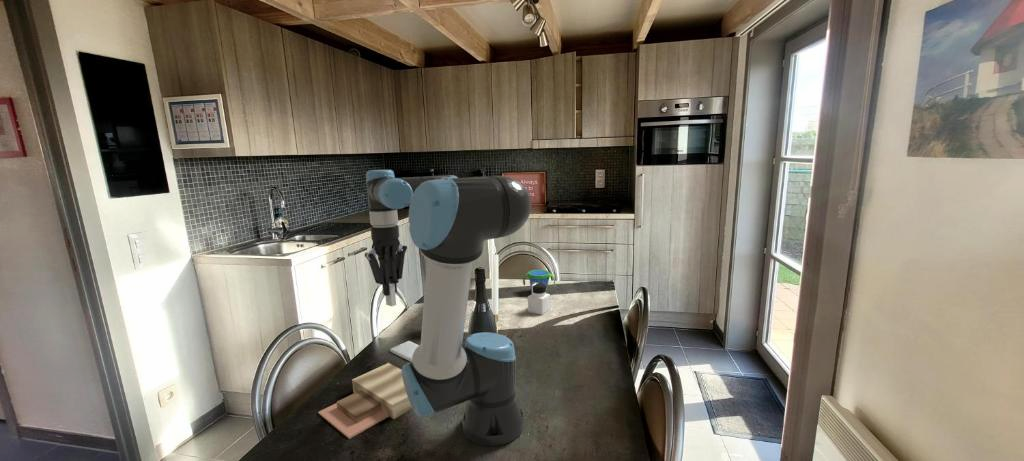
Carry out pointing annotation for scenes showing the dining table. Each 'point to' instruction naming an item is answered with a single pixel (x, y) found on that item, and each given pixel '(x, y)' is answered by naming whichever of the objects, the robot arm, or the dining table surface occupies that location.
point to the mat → (350, 421)
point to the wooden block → (358, 406)
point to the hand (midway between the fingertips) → (391, 304)
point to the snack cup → (539, 277)
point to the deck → (385, 389)
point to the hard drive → (405, 350)
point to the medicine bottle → (539, 299)
